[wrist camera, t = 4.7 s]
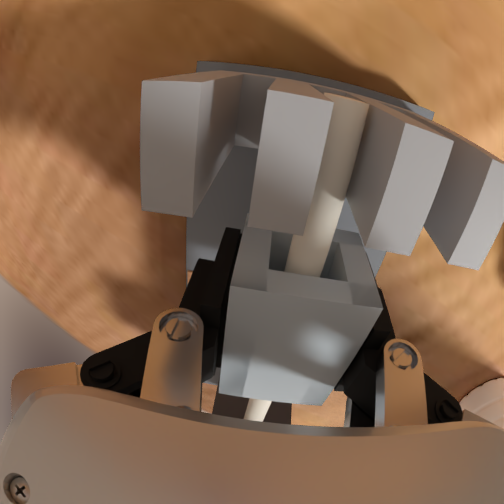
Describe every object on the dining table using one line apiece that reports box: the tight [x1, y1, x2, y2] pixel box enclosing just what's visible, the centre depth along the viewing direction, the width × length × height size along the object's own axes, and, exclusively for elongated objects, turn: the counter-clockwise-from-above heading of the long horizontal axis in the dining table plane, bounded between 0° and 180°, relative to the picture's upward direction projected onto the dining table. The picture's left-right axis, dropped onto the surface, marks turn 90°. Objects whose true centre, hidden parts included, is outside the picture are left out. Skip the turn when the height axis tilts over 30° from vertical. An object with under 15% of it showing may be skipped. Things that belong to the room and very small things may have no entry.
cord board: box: [140, 61, 504, 425], centre depth 13 cm, size 20×9×8 cm, turn 172°
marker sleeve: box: [219, 213, 383, 406], centre depth 9 cm, size 5×4×3 cm
